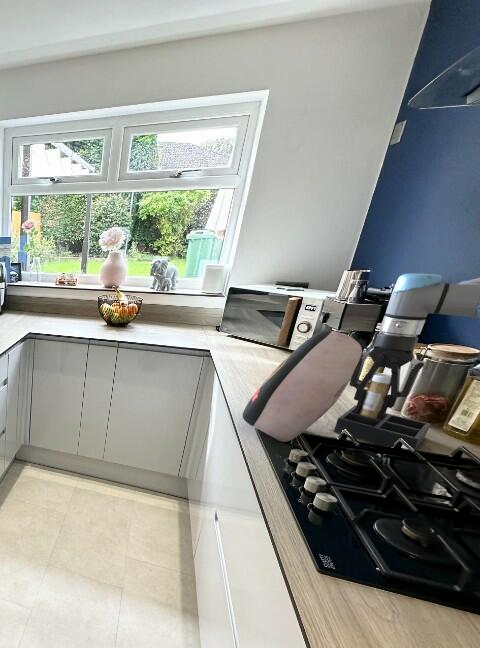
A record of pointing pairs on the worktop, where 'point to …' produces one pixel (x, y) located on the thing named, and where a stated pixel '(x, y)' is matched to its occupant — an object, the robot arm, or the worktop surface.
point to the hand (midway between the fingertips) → (369, 414)
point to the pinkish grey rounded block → (304, 385)
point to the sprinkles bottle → (375, 395)
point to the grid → (382, 428)
